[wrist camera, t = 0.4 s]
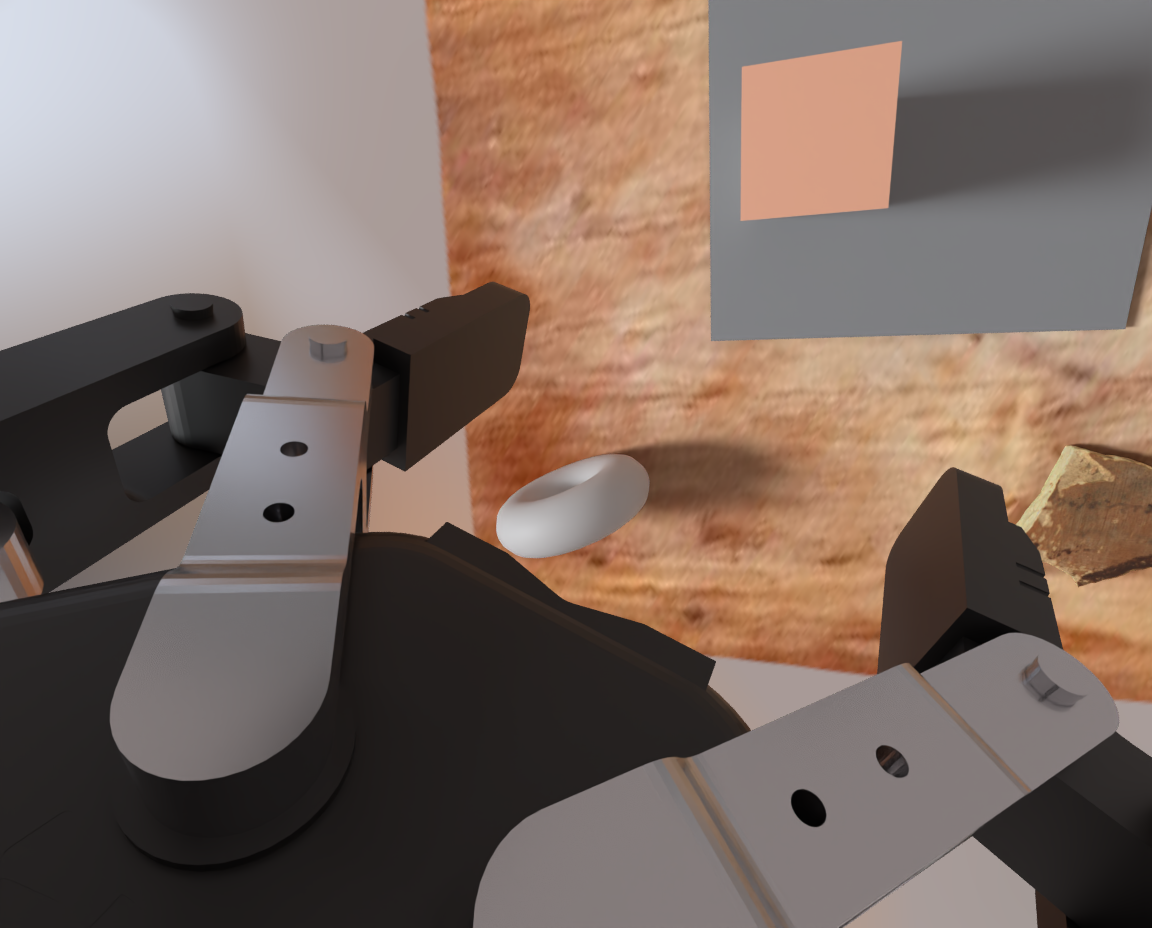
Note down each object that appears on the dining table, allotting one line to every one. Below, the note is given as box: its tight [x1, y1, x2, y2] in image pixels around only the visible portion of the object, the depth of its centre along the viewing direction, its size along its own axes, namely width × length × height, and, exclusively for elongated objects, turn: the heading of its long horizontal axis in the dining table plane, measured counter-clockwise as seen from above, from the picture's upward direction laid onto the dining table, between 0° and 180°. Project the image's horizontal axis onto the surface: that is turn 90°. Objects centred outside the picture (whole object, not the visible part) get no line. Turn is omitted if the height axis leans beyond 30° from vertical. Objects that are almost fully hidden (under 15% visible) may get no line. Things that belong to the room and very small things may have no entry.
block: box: [741, 41, 902, 221], centre depth 27 cm, size 5×5×12 cm
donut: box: [496, 454, 650, 558], centre depth 39 cm, size 10×4×10 cm, turn 115°
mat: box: [709, 0, 1152, 341], centre depth 31 cm, size 18×20×1 cm
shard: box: [1016, 446, 1152, 587], centre depth 34 cm, size 11×8×2 cm
